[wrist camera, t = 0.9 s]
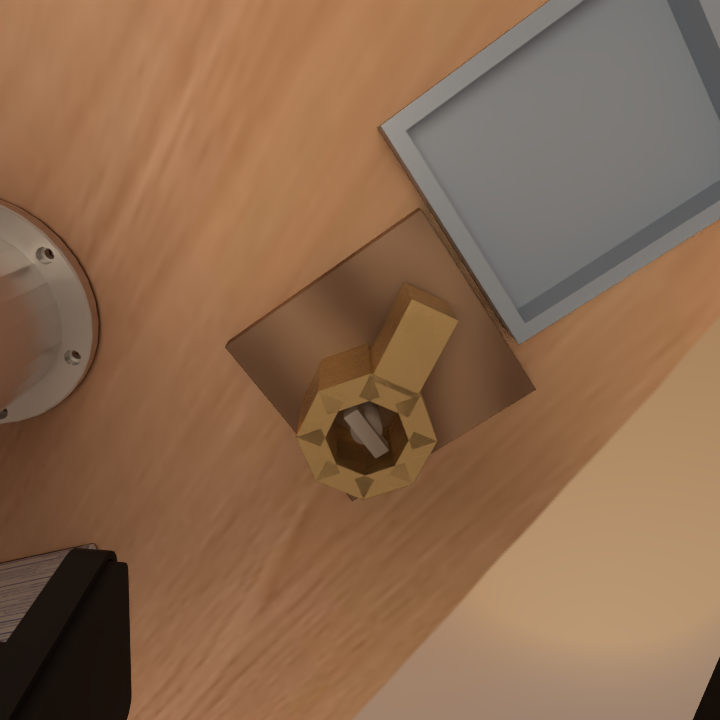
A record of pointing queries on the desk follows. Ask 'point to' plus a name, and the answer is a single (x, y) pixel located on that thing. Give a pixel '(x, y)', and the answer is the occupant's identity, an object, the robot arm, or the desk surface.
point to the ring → (377, 399)
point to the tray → (571, 150)
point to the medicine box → (25, 586)
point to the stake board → (362, 324)
